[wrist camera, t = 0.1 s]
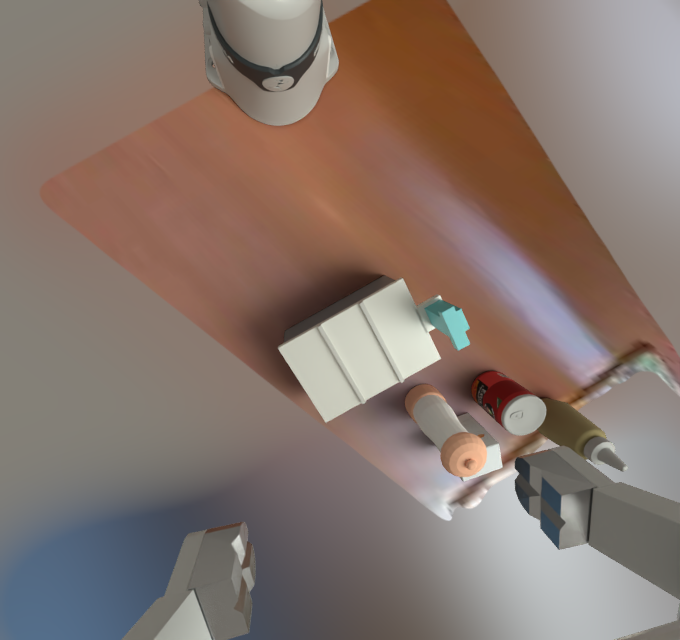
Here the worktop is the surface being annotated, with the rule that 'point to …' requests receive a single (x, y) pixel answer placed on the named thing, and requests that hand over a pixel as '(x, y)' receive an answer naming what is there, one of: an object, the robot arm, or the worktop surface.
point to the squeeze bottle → (578, 434)
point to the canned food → (508, 403)
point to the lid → (370, 347)
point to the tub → (337, 307)
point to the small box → (491, 444)
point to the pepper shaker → (446, 431)
